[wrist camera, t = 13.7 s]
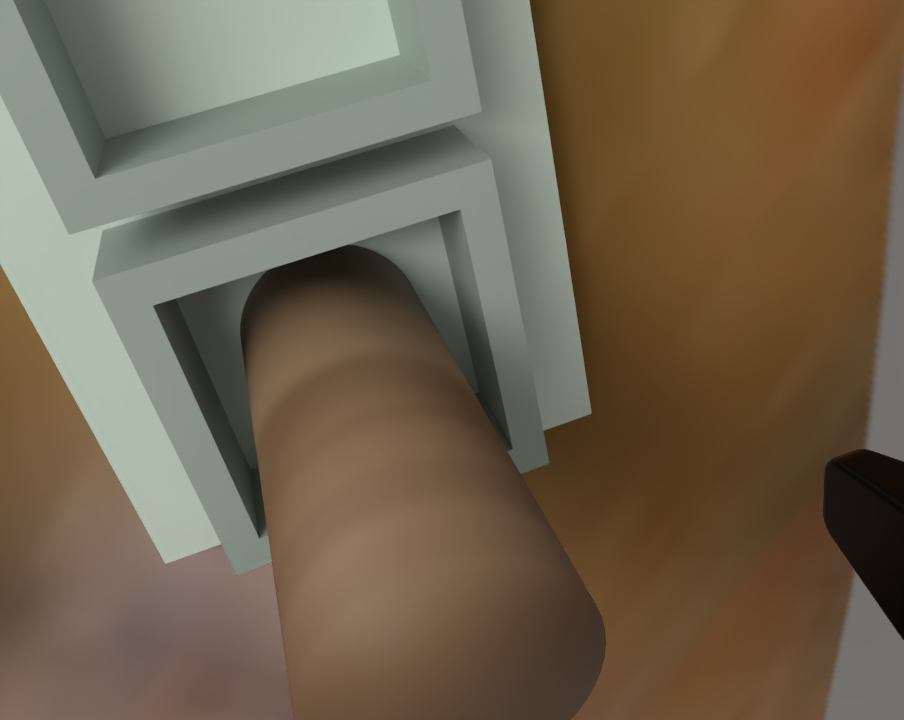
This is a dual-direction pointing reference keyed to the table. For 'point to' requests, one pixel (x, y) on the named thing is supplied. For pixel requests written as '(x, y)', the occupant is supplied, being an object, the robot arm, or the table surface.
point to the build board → (273, 216)
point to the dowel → (400, 514)
